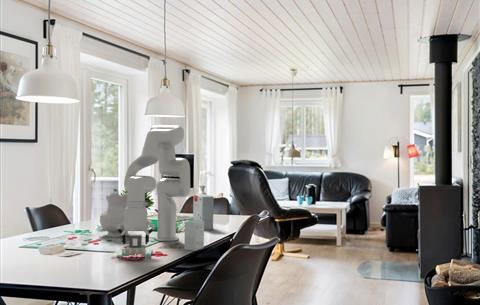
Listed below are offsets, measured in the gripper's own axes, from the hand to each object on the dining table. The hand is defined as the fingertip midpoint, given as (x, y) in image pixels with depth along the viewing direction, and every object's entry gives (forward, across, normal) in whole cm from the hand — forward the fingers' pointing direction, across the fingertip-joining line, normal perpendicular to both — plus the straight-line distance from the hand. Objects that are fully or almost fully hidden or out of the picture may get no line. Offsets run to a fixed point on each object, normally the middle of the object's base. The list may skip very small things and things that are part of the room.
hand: (135, 243), depth 225 cm
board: (+5, 0, 0) cm, 5 cm away
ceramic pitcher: (+5, +15, -54) cm, 56 cm away
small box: (+5, -26, -14) cm, 30 cm away
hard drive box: (+5, -32, -80) cm, 86 cm away
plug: (+3, 0, 0) cm, 3 cm away
